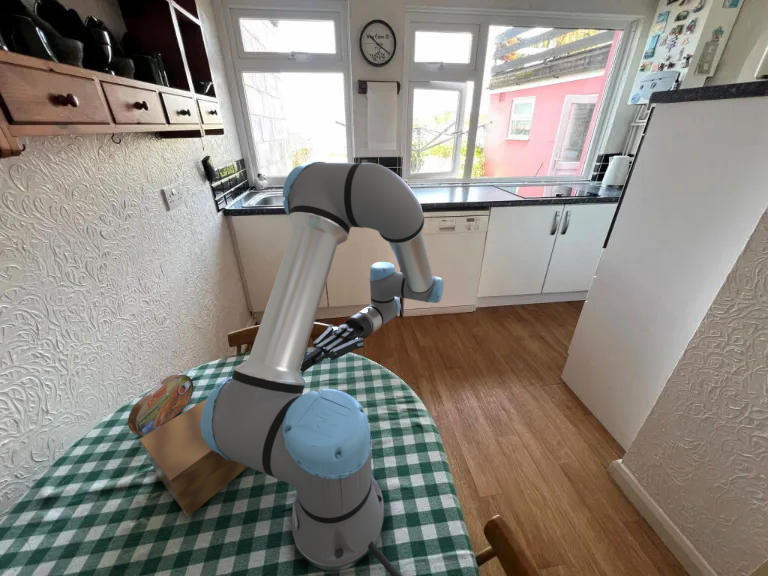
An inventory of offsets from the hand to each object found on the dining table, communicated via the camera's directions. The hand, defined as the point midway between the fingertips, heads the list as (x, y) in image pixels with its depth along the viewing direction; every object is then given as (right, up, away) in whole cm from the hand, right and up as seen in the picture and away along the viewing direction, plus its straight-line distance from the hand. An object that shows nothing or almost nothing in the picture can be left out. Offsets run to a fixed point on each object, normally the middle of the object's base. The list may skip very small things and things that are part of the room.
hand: (300, 366), depth 75 cm
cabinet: (-14, -16, -13) cm, 25 cm away
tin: (-30, -11, -3) cm, 32 cm away
